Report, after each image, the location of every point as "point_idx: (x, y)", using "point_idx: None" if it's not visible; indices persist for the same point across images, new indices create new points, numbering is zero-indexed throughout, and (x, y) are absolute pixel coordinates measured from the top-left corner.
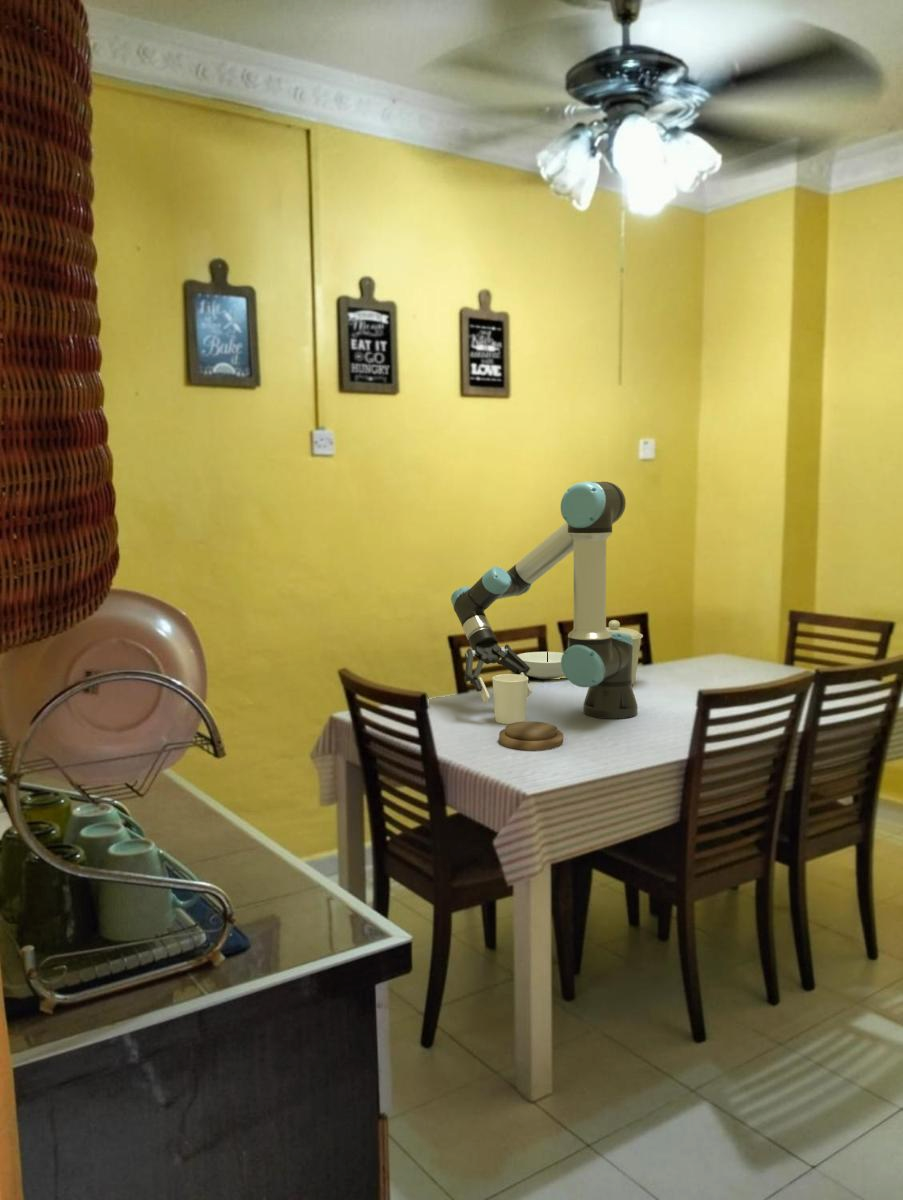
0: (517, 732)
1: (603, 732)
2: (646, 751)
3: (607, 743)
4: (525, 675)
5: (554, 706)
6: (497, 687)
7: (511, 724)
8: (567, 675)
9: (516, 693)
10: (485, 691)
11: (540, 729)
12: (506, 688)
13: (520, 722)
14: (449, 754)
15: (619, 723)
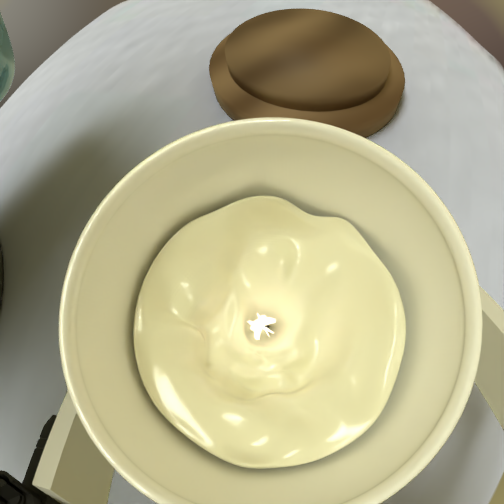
0: (361, 29)
1: (81, 115)
2: (121, 22)
3: (139, 49)
4: (35, 470)
5: (32, 451)
6: (424, 259)
7: (363, 81)
8: (2, 54)
9: (274, 187)
10: (487, 297)
11: (286, 30)
12: (361, 185)
13: (324, 89)
14: (500, 82)
15: (5, 185)
